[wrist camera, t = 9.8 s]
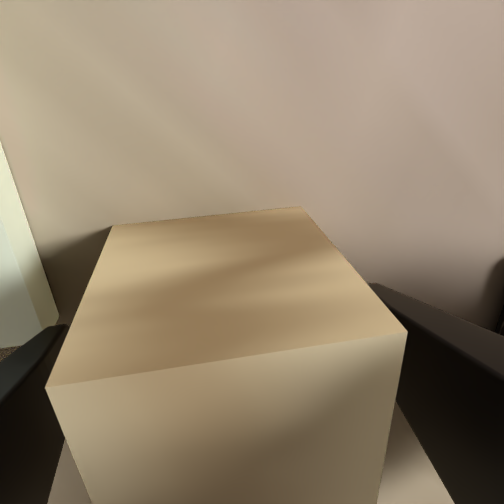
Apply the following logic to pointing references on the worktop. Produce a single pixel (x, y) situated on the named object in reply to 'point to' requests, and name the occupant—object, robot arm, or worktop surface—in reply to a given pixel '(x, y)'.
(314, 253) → the maple block
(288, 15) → the worktop surface
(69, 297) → the worktop surface
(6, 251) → the plate
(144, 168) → the worktop surface
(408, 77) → the worktop surface
